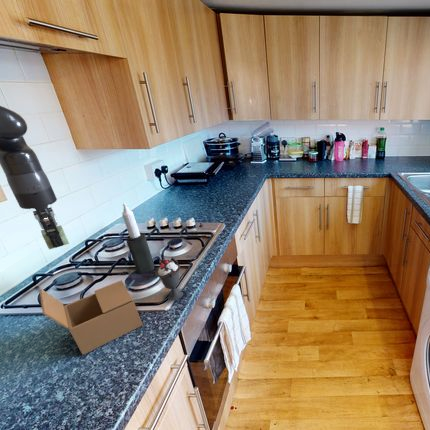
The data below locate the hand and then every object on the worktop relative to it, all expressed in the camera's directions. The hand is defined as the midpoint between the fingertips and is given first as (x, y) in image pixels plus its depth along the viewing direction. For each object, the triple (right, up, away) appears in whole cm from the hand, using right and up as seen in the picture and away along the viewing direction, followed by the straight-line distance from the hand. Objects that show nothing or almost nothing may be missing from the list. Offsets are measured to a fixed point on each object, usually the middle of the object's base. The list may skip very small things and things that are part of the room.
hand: (57, 242), depth 83 cm
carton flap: (+15, -13, -17) cm, 26 cm away
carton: (+20, -22, -7) cm, 31 cm away
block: (0, 0, 0) cm, 0 cm away
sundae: (+32, -17, +4) cm, 37 cm away
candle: (+16, -11, +17) cm, 25 cm away
